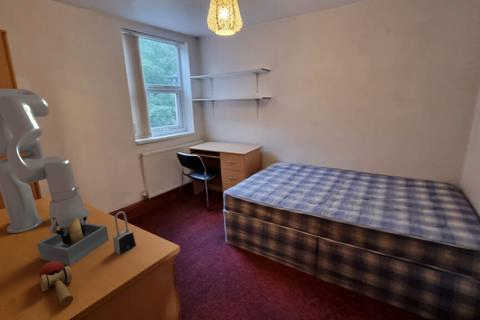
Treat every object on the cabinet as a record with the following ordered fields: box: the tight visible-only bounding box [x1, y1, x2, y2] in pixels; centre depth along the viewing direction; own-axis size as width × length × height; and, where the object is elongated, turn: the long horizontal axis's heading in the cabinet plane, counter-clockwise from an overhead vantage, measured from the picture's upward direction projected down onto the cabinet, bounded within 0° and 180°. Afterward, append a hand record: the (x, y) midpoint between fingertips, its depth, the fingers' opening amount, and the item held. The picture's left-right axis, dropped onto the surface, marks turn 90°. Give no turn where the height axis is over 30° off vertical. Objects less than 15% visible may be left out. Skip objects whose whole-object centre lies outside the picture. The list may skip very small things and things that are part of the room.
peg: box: [67, 217, 83, 248], centre depth 87 cm, size 5×5×11 cm
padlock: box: [112, 211, 137, 256], centre depth 87 cm, size 7×4×15 cm, turn 145°
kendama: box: [39, 261, 74, 307], centre depth 70 cm, size 8×6×18 cm
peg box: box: [36, 222, 109, 267], centre depth 88 cm, size 14×16×6 cm
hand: (74, 238), depth 88 cm, fingers closed on peg, 5 cm apart
